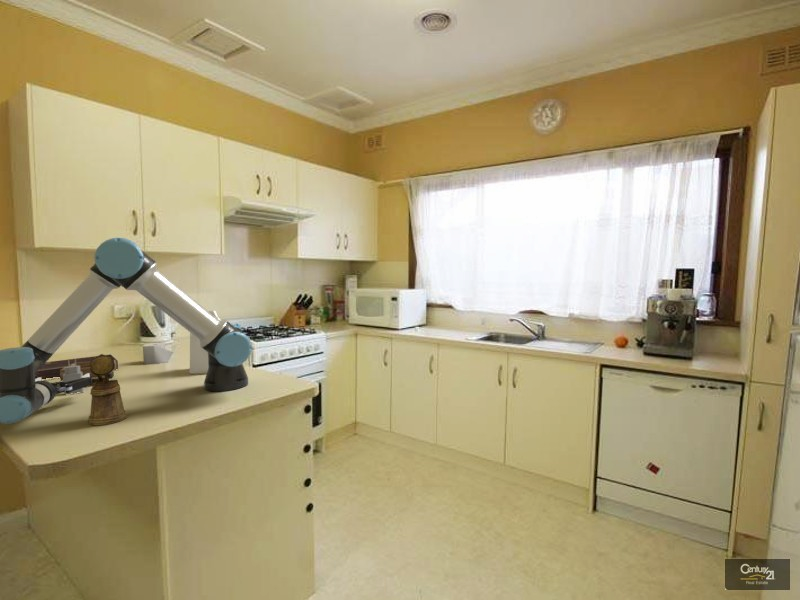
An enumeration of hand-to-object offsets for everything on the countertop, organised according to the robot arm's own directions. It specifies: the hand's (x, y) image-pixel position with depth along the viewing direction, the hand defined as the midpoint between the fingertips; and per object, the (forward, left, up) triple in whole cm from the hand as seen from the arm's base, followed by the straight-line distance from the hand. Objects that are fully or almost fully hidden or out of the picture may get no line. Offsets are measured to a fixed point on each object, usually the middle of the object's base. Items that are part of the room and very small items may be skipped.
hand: (64, 379), depth 143 cm
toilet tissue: (+54, -18, -7) cm, 57 cm away
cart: (+21, -1, -6) cm, 22 cm away
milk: (+24, -44, -7) cm, 50 cm away
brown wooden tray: (+45, +12, -7) cm, 48 cm away
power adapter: (+5, -1, -7) cm, 8 cm away
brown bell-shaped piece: (-31, -21, -7) cm, 38 cm away
